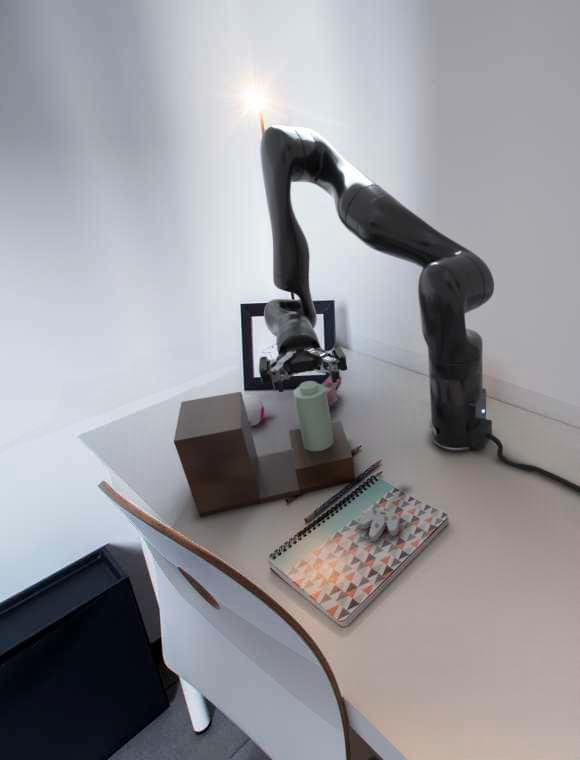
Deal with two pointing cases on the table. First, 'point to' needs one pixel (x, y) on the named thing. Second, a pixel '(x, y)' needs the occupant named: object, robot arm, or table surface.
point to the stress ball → (253, 409)
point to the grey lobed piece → (380, 522)
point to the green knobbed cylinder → (313, 416)
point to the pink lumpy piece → (331, 389)
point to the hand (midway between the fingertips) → (307, 382)
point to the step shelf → (249, 458)
